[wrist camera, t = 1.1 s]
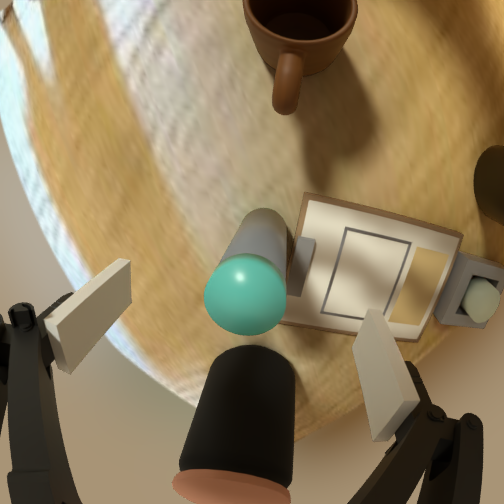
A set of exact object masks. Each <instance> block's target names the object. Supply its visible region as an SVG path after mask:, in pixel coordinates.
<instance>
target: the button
mask: <svg viewBox="0 0 504 504" xmlns="http://www.w3.org/2000/svg"><path fill="white" fill-rule="evenodd" d="M499 302H500V293H499V291H498V290H497V289H496V288H495V287H494V286H493V285H492V284H490V283H489V282H488V281H487V280H486V279H485V278H484V277H481V276H477V277H474V278H472V279H471V280H470V282H469V284H468V287H467V289H466V291H465V294H464V296H463V298H462V300H461V303H460V304H461V306H462V307H463V309H464V310H465V311H466V312H467V313H468V315H469V316H470V317H471V318H472V320H473V321H474V322H476V323H483V322H485V321H487V320H488V319H489V318H491V317H492V316H493V314H494V313H495V312H496V310H497V308H498V306H499Z"/></svg>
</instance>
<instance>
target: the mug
mask: <svg viewBox="0 0 504 504" xmlns="http://www.w3.org/2000/svg"><path fill="white" fill-rule="evenodd" d="M243 8H244V15H245V19H246V22H247V25H248V28H249V30H250V33H251V36H252V38H253V41H254V43H255V46H256V48H257V51H258V52H259V54H260V56H261V57H262V58H263V60H264V61H265V62H266V63H267V64H268V65H270V66H271V67H272V68H274V69H276V74H275V80H274V87H273V95H272V105H273V108H274V110H275V111H276V112H277V113H279V114H281V115H289V114H292V113H293V112H294V111H295V110H296V108H297V105H298V99H299V93H300V87H301V81H302V76H306V75H311V74H315V73H318V72H320V71H322V70H324V69H325V68H327V67H328V66H329V65H330V64H331V63H332V62H333V61H334V60H335V58H336V57H337V55H338V53H339V52H340V50H341V49H342V47H343V45H344V44H345V42H346V40H347V39H348V37H349V35H350V34H351V32H352V29H353V27H354V24H355V21H356V18H357V13H358V5H357V0H243Z"/></svg>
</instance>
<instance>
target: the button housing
mask: <svg viewBox="0 0 504 504" xmlns="http://www.w3.org/2000/svg"><path fill="white" fill-rule="evenodd" d="M472 275H477V276H481V277H485V278H486V280H487V281H488V282H489V283H490V284H492V285H493V286H494V287H495V288H496V289H497V290H498V291H499V293H500V295H501V293H502V291H503V288H504V266H503V265H502V264H500V263H498V262H495V261H492V260H488V259H485V258H482V257H478V256H475V255H472V254H468V253H465V252H461V251H458V253H457V256H456V259H455V262H454V264H453V267H452V269H451V272H450V275H449V277H448V280H447V282H446V284H445V287H444V289H443V292H442V294H441V296H440V298H439V301H438V303H437V305H436V307H435V309H434V312H433V314H434V315H435V317H436V318H437V320H438V321H439V323H440V324H446V325H454V326H464V327H472V328H482V329H484V328H485V326H486V324H487V322H488V320H489V319H488V320H487V321H485V322H483V323H476V322H474V321H473V320H472V318H471V317H470V316H469V315H468V313H467V312H466V311H465V310H464V309H463V307H462V306H461V305H460V303H461V300H462V298H463V296H464V294H465V291H466V289H467V287H468V284H469V282H470V280H471V277H472Z"/></svg>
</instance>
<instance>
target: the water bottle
mask: <svg viewBox="0 0 504 504" xmlns="http://www.w3.org/2000/svg"><path fill="white" fill-rule="evenodd" d="M474 193H475V197H476V200H477V203H478V205H479V207H480V209H481V210H482V212H483V213H484V214H485V215H487V216H488V217H490V218H491V219H493V220H495V221H497V222H498V223H500V224H502V225H503V226H504V146H499V145H495V146H491V147H489V148H487V149H486V150H485V151H484V152H483V153H482V155H481V156H480V158H479V160H478V162H477V165H476V168H475V173H474Z"/></svg>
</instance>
